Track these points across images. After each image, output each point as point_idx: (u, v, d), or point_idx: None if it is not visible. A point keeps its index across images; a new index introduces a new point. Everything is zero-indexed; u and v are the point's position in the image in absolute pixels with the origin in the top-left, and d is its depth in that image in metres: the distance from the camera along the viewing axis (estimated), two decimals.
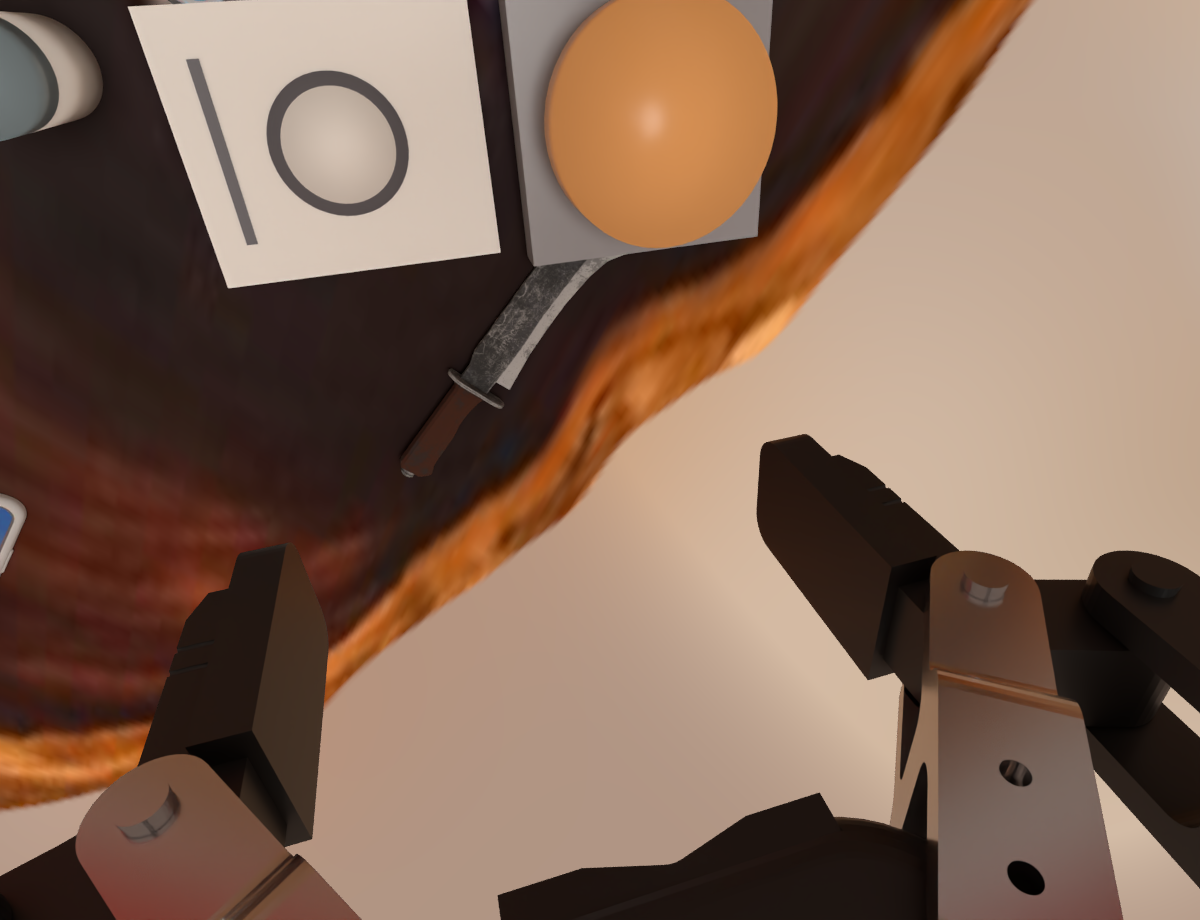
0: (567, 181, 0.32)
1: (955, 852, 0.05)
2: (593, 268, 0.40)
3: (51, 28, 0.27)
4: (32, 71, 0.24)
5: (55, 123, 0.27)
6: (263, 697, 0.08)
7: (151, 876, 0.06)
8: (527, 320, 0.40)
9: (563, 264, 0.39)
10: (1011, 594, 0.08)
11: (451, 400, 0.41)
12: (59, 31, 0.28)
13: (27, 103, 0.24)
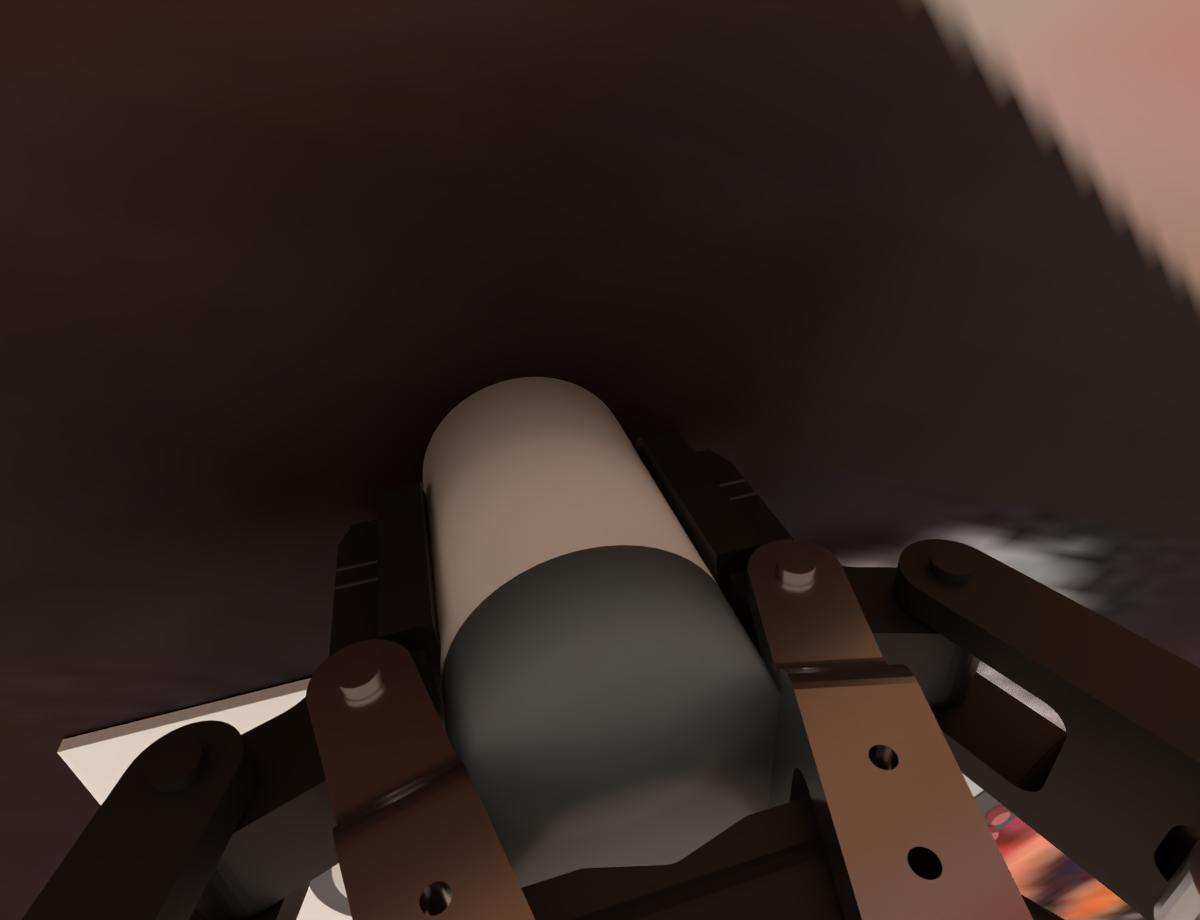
0: None
1: (861, 863, 0.05)
2: None
3: None
4: None
5: None
6: (430, 601, 0.09)
7: (381, 726, 0.07)
8: None
9: None
10: (816, 580, 0.09)
11: None
12: None
13: None
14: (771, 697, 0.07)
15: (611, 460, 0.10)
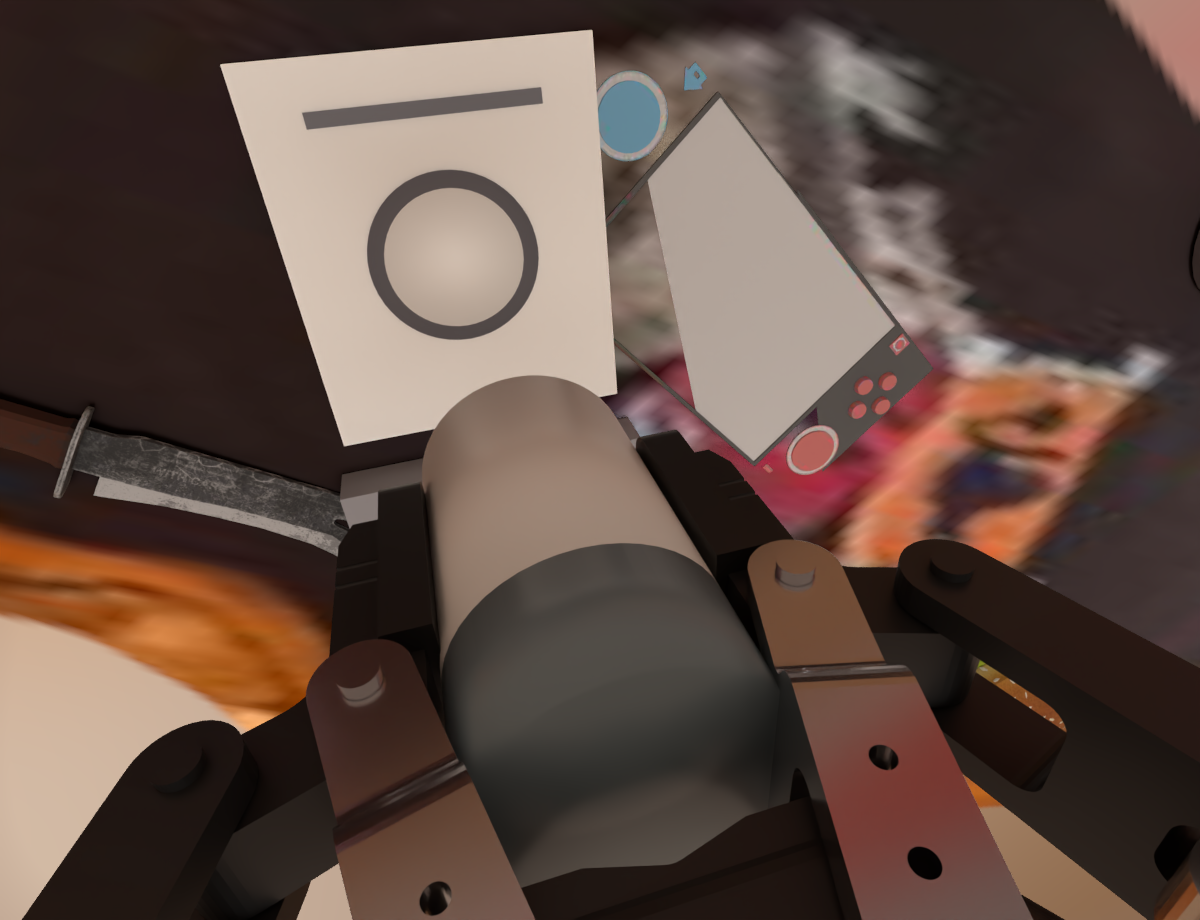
0: None
1: (860, 862, 0.05)
2: (321, 545, 0.31)
3: None
4: None
5: None
6: (430, 601, 0.09)
7: (380, 726, 0.07)
8: (220, 493, 0.28)
9: (316, 513, 0.30)
10: (816, 580, 0.09)
11: (34, 426, 0.25)
12: None
13: None
14: (771, 695, 0.07)
15: (611, 459, 0.10)
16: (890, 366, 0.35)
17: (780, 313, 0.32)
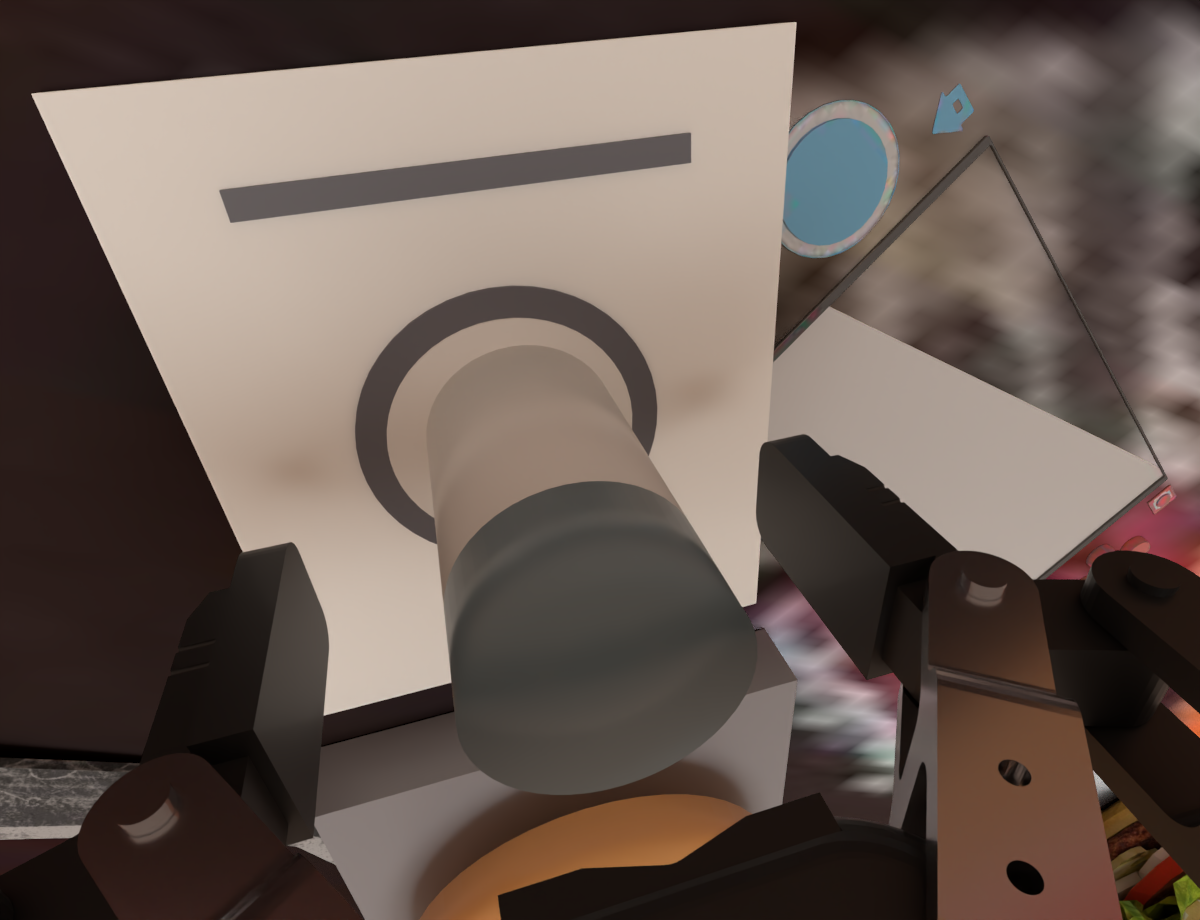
0: None
1: (955, 852, 0.05)
2: None
3: None
4: (622, 775, 0.10)
5: None
6: (264, 696, 0.08)
7: (152, 875, 0.06)
8: (83, 809, 0.17)
9: None
10: (1010, 594, 0.08)
11: None
12: None
13: (557, 782, 0.10)
14: (729, 606, 0.09)
15: (597, 415, 0.12)
16: None
17: (1010, 472, 0.20)
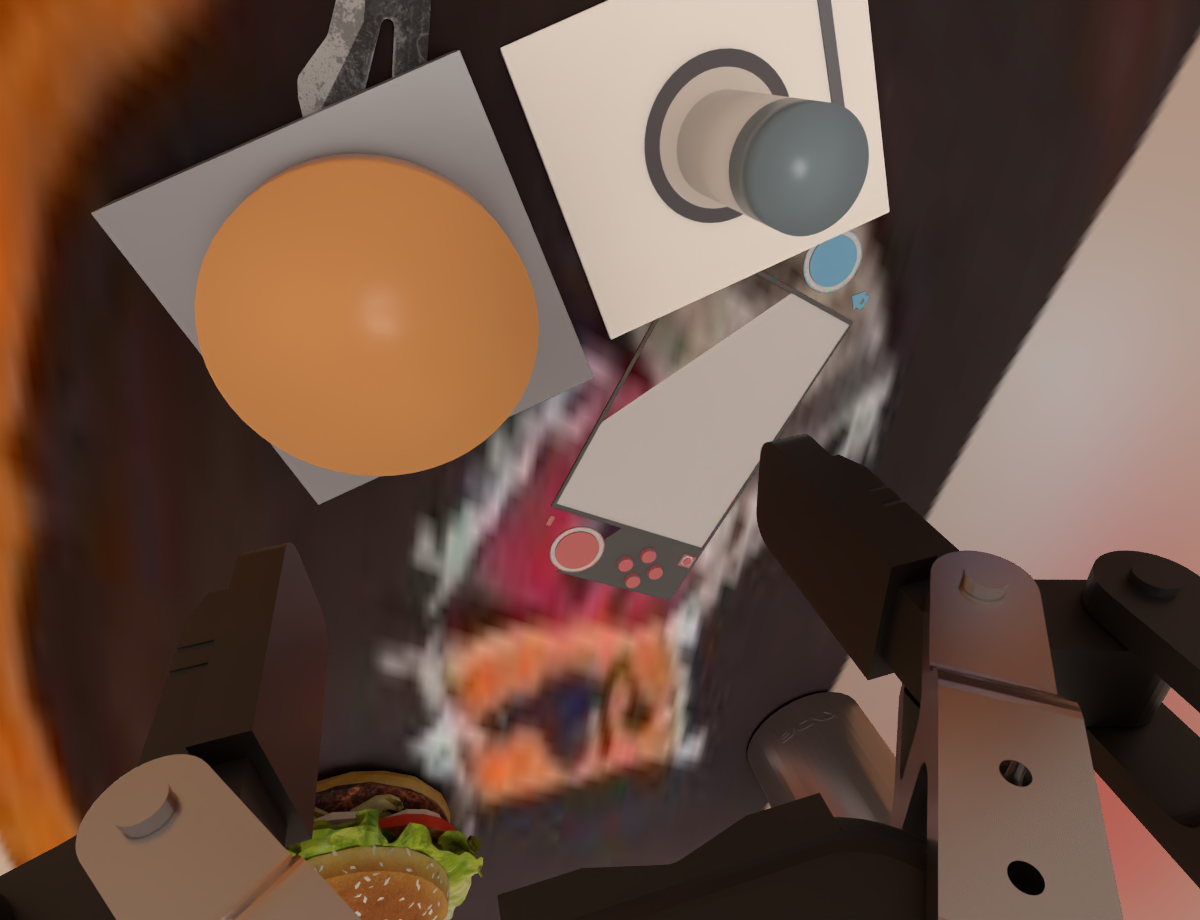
0: (490, 226, 0.22)
1: (955, 851, 0.05)
2: (340, 8, 0.23)
3: None
4: (754, 198, 0.22)
5: (733, 116, 0.24)
6: (263, 697, 0.08)
7: (151, 876, 0.06)
8: None
9: None
10: (1011, 594, 0.08)
11: None
12: (711, 198, 0.27)
13: (765, 162, 0.21)
14: (848, 205, 0.23)
15: None
16: (666, 566, 0.39)
17: (700, 451, 0.36)
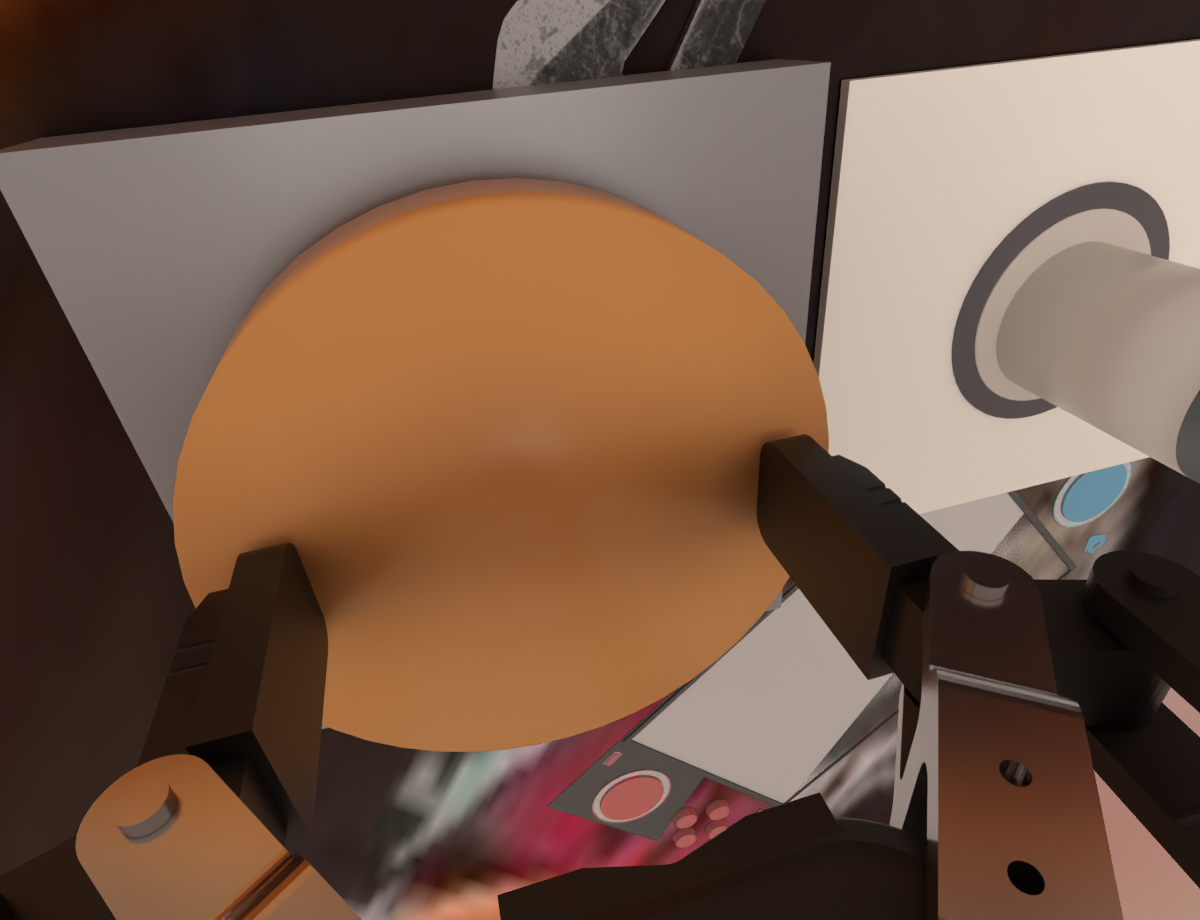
0: (811, 390, 0.12)
1: (955, 852, 0.05)
2: None
3: (1062, 406, 0.17)
4: None
5: None
6: (263, 697, 0.08)
7: (150, 876, 0.06)
8: None
9: None
10: (1011, 594, 0.08)
11: None
12: (1046, 395, 0.17)
13: None
14: None
15: None
16: None
17: (835, 693, 0.25)
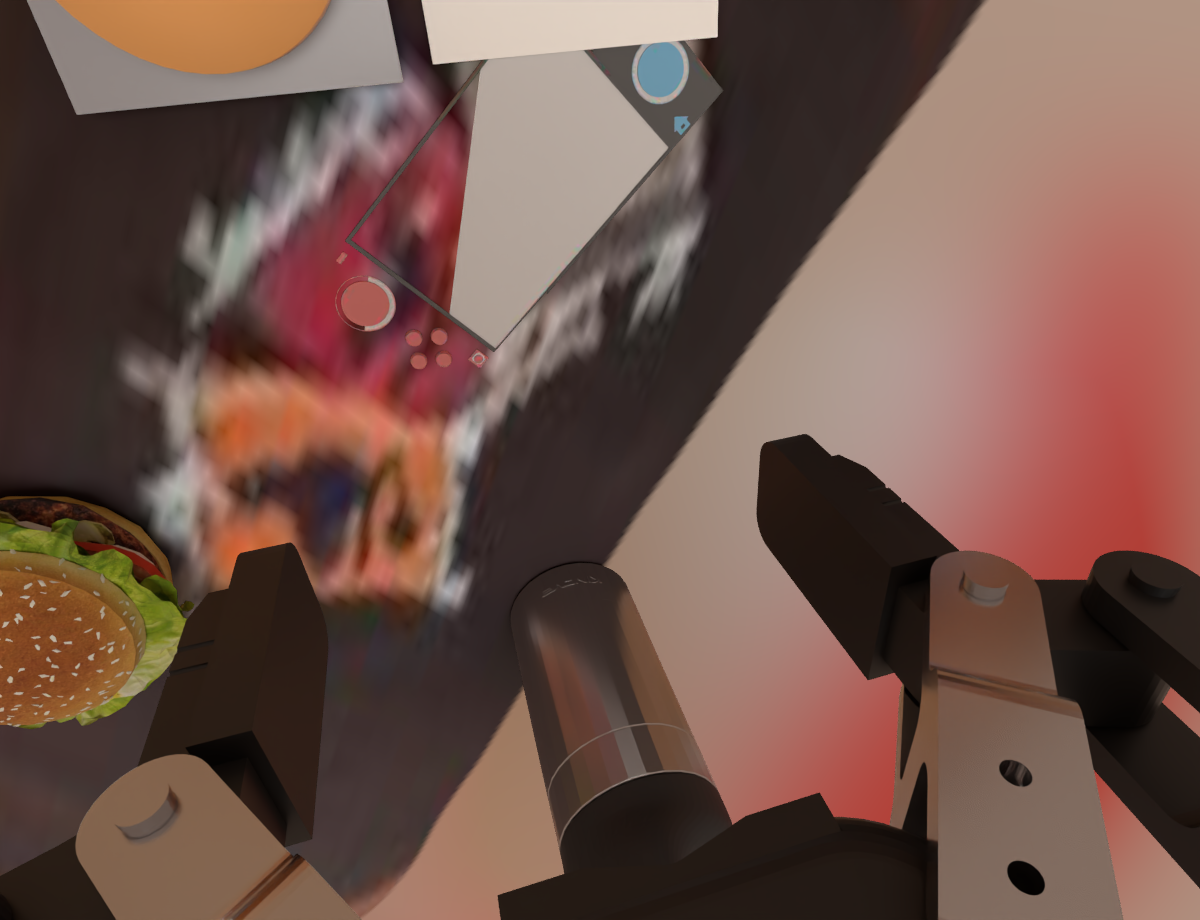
0: None
1: (955, 852, 0.05)
2: None
3: None
4: None
5: None
6: (263, 697, 0.08)
7: (151, 877, 0.06)
8: None
9: None
10: (1011, 594, 0.08)
11: None
12: None
13: None
14: None
15: None
16: None
17: (507, 234, 0.37)
